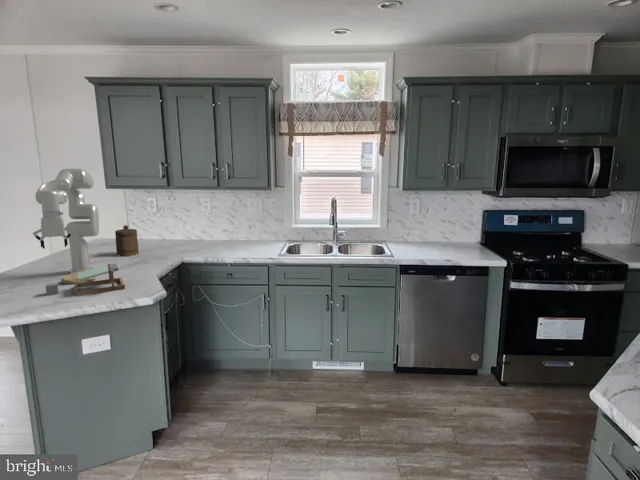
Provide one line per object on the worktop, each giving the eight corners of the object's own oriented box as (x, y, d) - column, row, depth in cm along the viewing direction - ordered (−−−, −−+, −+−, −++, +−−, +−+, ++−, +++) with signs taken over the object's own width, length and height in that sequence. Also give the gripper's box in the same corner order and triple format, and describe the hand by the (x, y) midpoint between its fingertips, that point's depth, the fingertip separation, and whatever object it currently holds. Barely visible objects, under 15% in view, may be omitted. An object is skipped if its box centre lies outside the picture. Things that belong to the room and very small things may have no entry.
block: (47, 292, 208) (46, 283, 207) (58, 291, 211) (57, 282, 210) (46, 295, 204) (45, 286, 203) (58, 294, 207) (57, 284, 206)
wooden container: (136, 251, 309) (134, 223, 304) (140, 255, 296) (138, 225, 292) (115, 253, 301) (113, 224, 296) (118, 257, 288) (115, 227, 284)
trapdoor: (78, 275, 217) (77, 272, 216) (116, 265, 226) (115, 262, 226) (79, 281, 205) (78, 278, 205) (118, 270, 214) (118, 267, 214)
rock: (100, 275, 241) (100, 269, 240) (95, 284, 227) (95, 277, 226) (67, 276, 236) (67, 269, 235) (60, 286, 222) (59, 278, 221)
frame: (74, 287, 218) (72, 267, 216) (121, 280, 230) (119, 262, 228) (75, 295, 204) (72, 275, 202) (125, 288, 216) (123, 269, 214)
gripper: (71, 213, 213) (74, 245, 215) (31, 215, 204) (34, 248, 206) (71, 214, 207) (74, 246, 209) (30, 216, 197) (34, 250, 200)
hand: (54, 247), depth 208 cm, fingers open, 9 cm apart
